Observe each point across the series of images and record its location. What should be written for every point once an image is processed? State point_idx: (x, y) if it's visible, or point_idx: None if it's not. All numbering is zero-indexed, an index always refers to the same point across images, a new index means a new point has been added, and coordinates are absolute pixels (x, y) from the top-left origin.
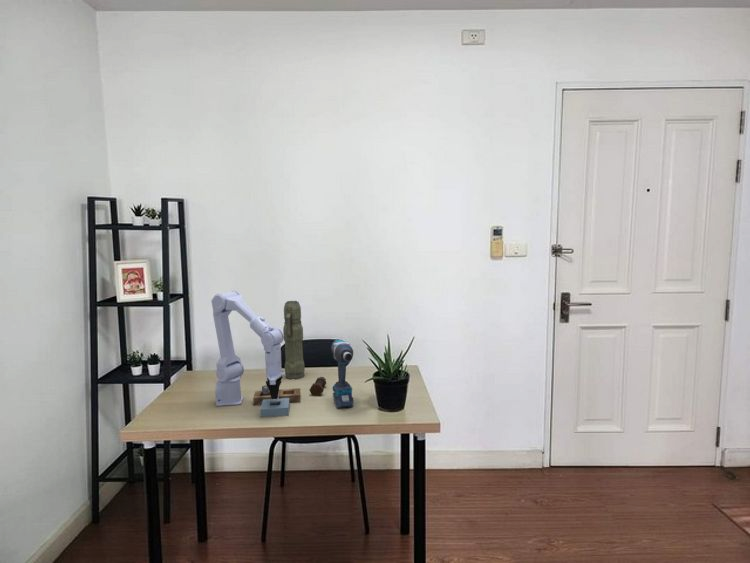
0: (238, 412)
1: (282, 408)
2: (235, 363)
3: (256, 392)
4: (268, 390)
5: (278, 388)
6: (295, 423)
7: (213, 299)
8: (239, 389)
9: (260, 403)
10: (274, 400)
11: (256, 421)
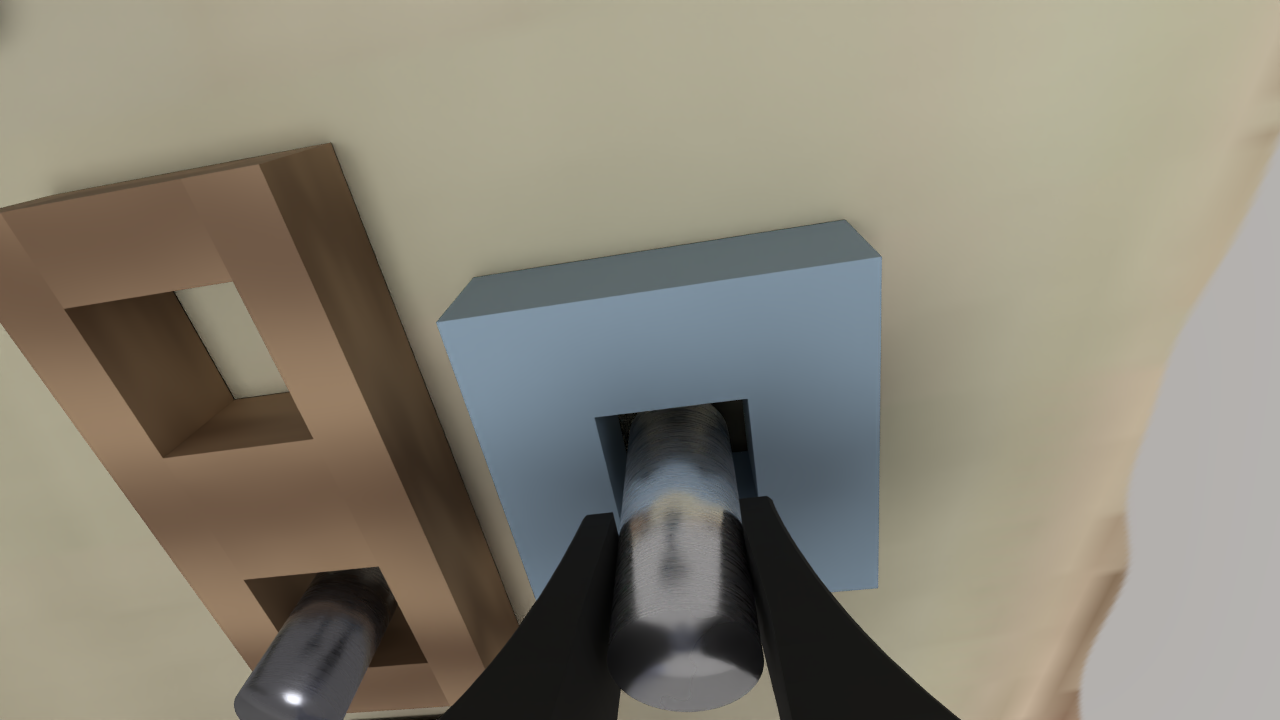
0: None
1: (879, 339)
2: None
3: None
4: (321, 638)
5: (881, 653)
6: (1202, 40)
7: None
8: None
9: (496, 590)
10: (740, 512)
11: (959, 530)
